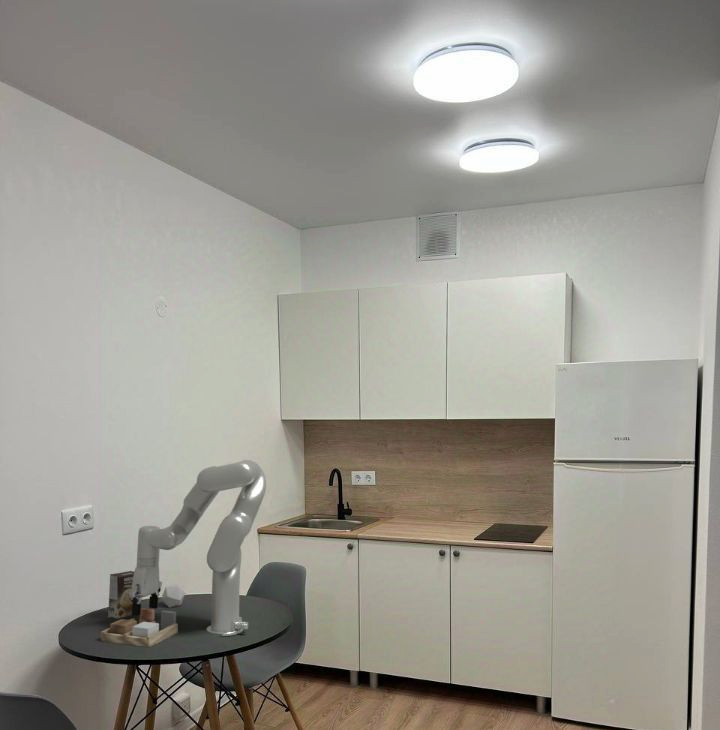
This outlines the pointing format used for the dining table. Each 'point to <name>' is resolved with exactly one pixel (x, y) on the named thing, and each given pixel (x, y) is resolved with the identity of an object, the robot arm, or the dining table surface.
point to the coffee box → (120, 594)
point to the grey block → (154, 625)
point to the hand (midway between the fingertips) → (144, 611)
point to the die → (173, 596)
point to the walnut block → (131, 622)
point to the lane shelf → (139, 641)
